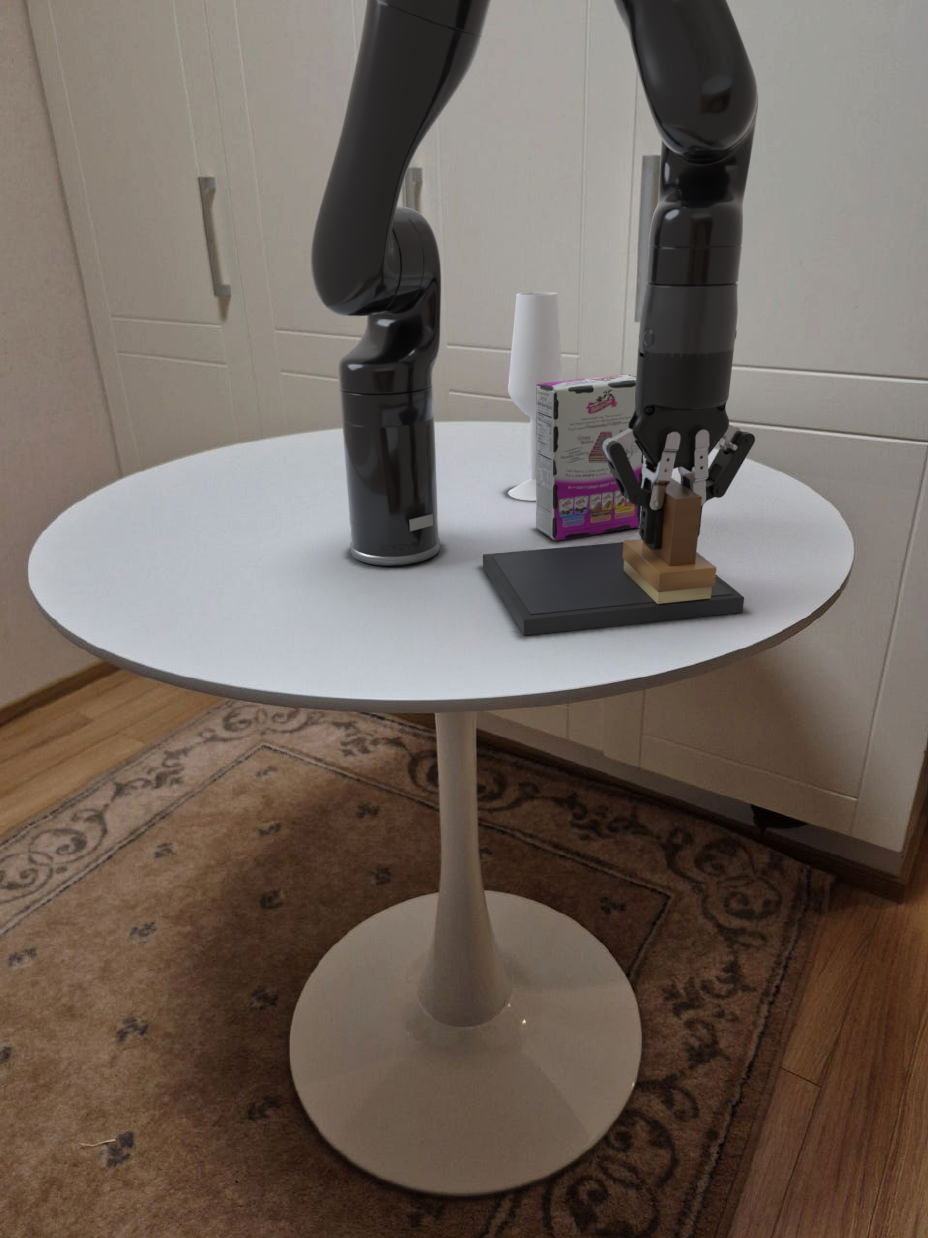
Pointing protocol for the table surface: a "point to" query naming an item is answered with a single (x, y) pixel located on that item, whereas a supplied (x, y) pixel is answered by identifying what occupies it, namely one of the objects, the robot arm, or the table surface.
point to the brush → (673, 553)
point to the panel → (587, 590)
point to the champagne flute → (533, 365)
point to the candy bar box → (582, 456)
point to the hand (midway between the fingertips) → (668, 544)
